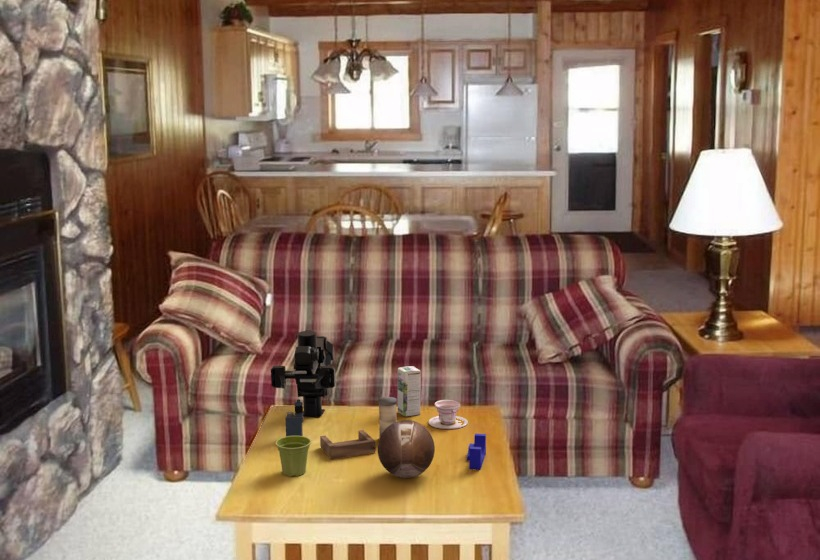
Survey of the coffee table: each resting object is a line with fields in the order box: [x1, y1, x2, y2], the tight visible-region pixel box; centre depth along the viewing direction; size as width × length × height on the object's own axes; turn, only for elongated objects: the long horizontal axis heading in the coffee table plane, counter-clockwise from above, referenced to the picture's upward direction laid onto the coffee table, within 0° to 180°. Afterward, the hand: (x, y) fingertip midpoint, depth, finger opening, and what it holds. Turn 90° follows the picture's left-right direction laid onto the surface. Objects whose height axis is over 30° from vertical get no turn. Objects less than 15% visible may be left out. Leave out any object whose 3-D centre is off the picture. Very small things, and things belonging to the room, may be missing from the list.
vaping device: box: [284, 398, 304, 437], centre depth 292 cm, size 3×5×12 cm, turn 89°
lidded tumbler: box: [378, 396, 398, 437], centre depth 292 cm, size 5×5×12 cm
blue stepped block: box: [466, 433, 487, 471], centre depth 275 cm, size 12×4×6 cm, turn 169°
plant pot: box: [275, 435, 312, 477], centre depth 268 cm, size 9×9×9 cm
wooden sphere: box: [377, 419, 436, 479], centre depth 264 cm, size 15×15×15 cm
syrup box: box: [397, 365, 422, 417], centre depth 314 cm, size 6×6×14 cm
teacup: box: [427, 399, 469, 430], centre depth 306 cm, size 12×12×6 cm
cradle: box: [319, 429, 377, 460], centre depth 284 cm, size 10×13×3 cm
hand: (298, 386), depth 288 cm, fingers open, 9 cm apart
